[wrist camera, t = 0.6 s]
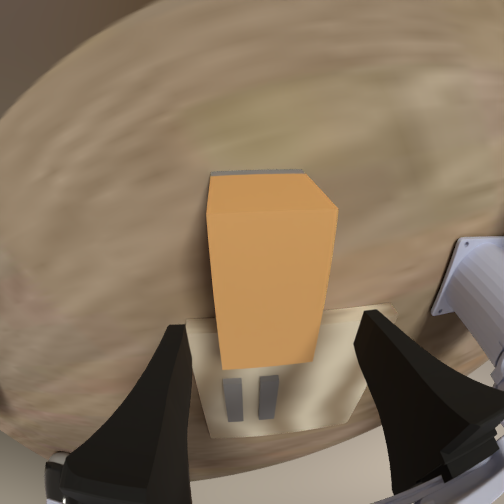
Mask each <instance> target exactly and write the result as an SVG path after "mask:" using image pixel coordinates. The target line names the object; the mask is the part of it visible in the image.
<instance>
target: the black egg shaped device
mask: <svg viewBox="0 0 504 504" xmlns="http://www.w3.org/2000/svg"><path fill="white" fill-rule="evenodd" d="M69 454H70V453H66V452H58V453H55V454H53V455H52V456H51V457H50V459H49V460H48V462H46V465H45V490H46V497H47V499H48V498H50V499H53V500H56V501H59V502H62V503H65V504H82V503H81V502H79V501H77V500H75V499H73V498H71V497H69V496H67V495H66V494H64V493H62V492H61V490H60V489H59V485H60V479H61V473H62V468H63V465H64V462H65V459H66V457H67V456H68V455H69Z"/></svg>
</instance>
